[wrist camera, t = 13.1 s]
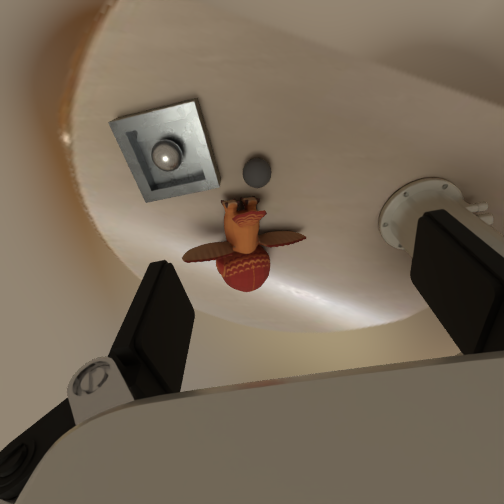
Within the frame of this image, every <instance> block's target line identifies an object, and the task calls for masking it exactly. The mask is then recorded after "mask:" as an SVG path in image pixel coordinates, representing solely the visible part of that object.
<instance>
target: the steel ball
mask: <svg viewBox="0 0 504 504" xmlns="http://www.w3.org/2000/svg"><path fill="white" fill-rule="evenodd" d="M151 157H152V161H153V163H154V164H155V166H156V167H158V168H159V169H160V170H163V171H167V172H170V171H174V170H176V169H177V168H179V166H180V165H181V163H182V160H183V155H182V151H181V149H180V147H179V146H178V145H177V144H176V143H175V142H173V141H170V140H161V141H158V142H157V143H156V144H155V145H154V146H153V148H152V151H151Z"/></svg>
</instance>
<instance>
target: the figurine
mask: <svg viewBox="0 0 504 504" xmlns="http://www.w3.org/2000/svg"><path fill="white" fill-rule="evenodd" d="M259 200H260V198H255V196H252V197H250V198H241V201H242V203H243V204H244V207H245V209H244V210H239V211H238V210H237V207H238V206H239V204H240V201H236V199H232V200H229V201H224V200H221V203H222V205H223V206H224V208H225V212H226V213H225V216H224V229H225V234H226V239H227V241H225V242H215V243H208V244H204V245H201V246H198V247H195V248H192V249H190V250H189V251H187V252H186V253H185V254H184V255H183V257H182V259H183V261H184V262H187V263H190V262H203V261H210V260H216V266H217V269H218V271H219V273H220V274H221V275H222V277H223V279H224V280H225V282H226V283H227V284H228V285H229V286H230V287H232V288H234V289H236V290H240V291H243V292H250V291H253V290H256V289H258V288H259V287H261V286H262V284H263V283H264V282H265V280H266V279H267V277H268V276H269V271H270V258H269V255H268V253H267V252H266V251H265V250H264V248H263V247H262V246H261V245H264V246H267V247H270V248H271V247H278V246H284V245H290V244H294V243H297V242H299V241H302V240H304V239H306V237H305V236H304V235H302V234H300V233H296V232H293V231H273V232H268V233H264V234H261V235H258V231H259V220H260V219H261V218H262V217H264V216H265V215H266V214H267V213H266V211H265V210H264V211H257V210H256V204H258V202H259Z"/></svg>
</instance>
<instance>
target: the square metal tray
mask: <svg viewBox="0 0 504 504" xmlns="http://www.w3.org/2000/svg"><path fill="white" fill-rule="evenodd" d="M108 123H109V125H110V127H111V129H112V132H113V134H114V136H115V138H116V140H117V142H118V144H119V147H120V149H121V151H122V153H123V155H124V157H125V159H126V161H127V164H128V166H129V168H130V170H131V172H132V174H133V176H134V179H135V181H136V183H137V185H138V187H139V189H140V191H141V193H142V196H143V198H144V200H145V202H146V203H147V202H152V201H157V200H162V199H166V198H171V197H176V196H181V195H185V194H190V193H195V192H200V191H205V190H209V189H214V188H219V187H220V182H221V177H220V174H219V170H218V167H217V163H216V160H215V156H214V153H213V149H212V146H211V143H210V139H209V136H208V132H207V129H206V125H205V122H204V118H203V115H202V111H201V108H200V104H199V101H198V98H195V99H191V100H187V101H183V102H179V103H175V104H171V105H167V106H163V107H159V108H154V109H150V110H146V111H142V112H138V113H134V114H130V115H126V116H122V117H118V118H116V119H114V120H112V121H110V122H108ZM161 140H170V141H173V142H175V143H176V144H177V145H178V146H179V147H180V149H181V151H182V155H183V160H182V163H181V165H180V166H179V168H177V169H176V170H174V171H170V172H167V171H163V170H160V169H159V168H158V167H156V166H155V164H154V163H153V161H152V157H151V151H152V148H153V146H154V145H155V144H156V143H157V142H158V141H161Z"/></svg>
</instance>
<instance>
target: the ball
mask: <svg viewBox="0 0 504 504" xmlns="http://www.w3.org/2000/svg"><path fill="white" fill-rule="evenodd" d="M243 178H244V180H245V182H246V183H247V184H248V185H249V186H251V187H254V188H260V187H263V186H265V185H266V184H267V183H268V182H269V180H270V178H271V168H270V166H269V164H268V163H267V162H266V161H265V160H263V159H260V158H254V159H251V160H250V161H248V162H247V163H246V164H245V166H244V168H243Z"/></svg>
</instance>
